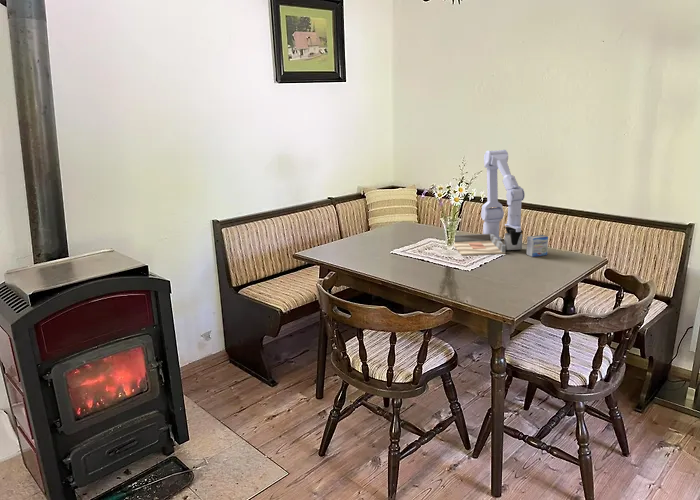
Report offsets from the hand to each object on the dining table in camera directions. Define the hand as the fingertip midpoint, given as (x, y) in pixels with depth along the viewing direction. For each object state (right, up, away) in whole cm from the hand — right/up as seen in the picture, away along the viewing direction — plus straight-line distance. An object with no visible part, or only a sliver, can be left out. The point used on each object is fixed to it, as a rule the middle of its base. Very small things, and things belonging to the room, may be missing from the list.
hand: (513, 243), depth 250 cm
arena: (-15, -2, +7) cm, 16 cm away
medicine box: (+8, -5, -8) cm, 13 cm away
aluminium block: (0, -2, +1) cm, 2 cm away
